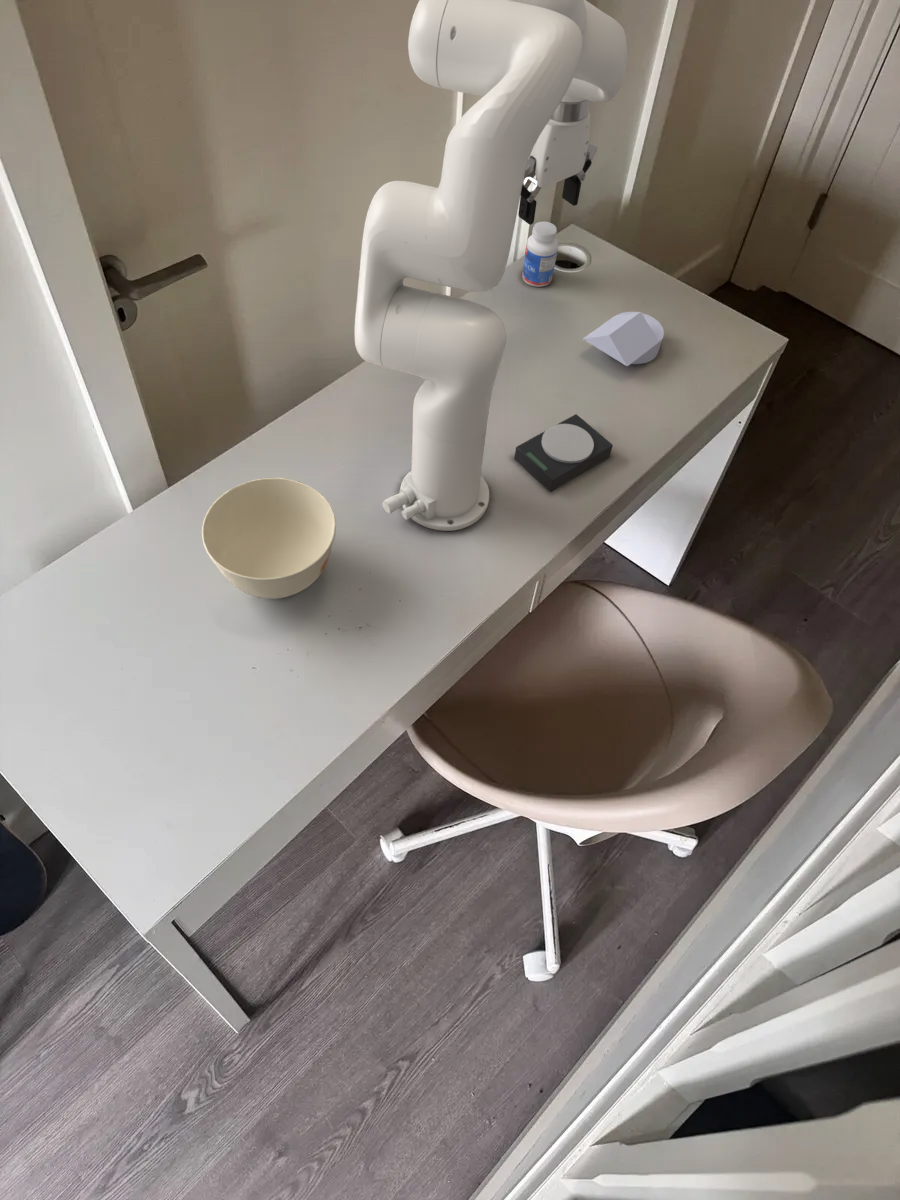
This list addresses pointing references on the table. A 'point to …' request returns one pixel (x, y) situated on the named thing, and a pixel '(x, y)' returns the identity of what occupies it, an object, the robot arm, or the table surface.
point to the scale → (563, 452)
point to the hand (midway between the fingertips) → (547, 210)
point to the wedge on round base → (628, 337)
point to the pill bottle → (540, 255)
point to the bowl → (270, 536)
